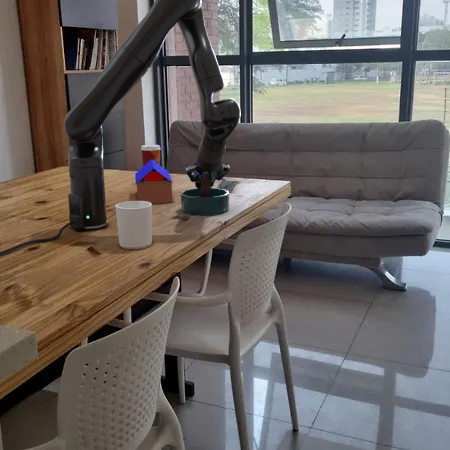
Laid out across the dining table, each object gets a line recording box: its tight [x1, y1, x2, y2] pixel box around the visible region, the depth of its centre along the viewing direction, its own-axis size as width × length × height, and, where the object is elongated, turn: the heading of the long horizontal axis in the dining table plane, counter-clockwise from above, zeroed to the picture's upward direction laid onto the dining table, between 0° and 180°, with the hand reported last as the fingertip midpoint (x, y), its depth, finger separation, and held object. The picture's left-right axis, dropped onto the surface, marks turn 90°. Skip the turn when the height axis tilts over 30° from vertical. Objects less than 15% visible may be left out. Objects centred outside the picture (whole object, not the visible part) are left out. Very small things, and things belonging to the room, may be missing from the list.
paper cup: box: [140, 144, 162, 167], centre depth 229 cm, size 8×8×14 cm
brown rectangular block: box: [199, 175, 212, 197], centre depth 183 cm, size 3×3×9 cm
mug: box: [115, 200, 153, 250], centre depth 149 cm, size 11×9×10 cm
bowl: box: [180, 187, 230, 216], centre depth 184 cm, size 15×15×6 cm
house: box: [134, 159, 174, 204], centre depth 202 cm, size 12×20×12 cm, turn 9°
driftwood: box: [217, 177, 239, 191], centre depth 218 cm, size 21×7×2 cm, turn 173°
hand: (203, 186), depth 184 cm, fingers closed on brown rectangular block, 3 cm apart
